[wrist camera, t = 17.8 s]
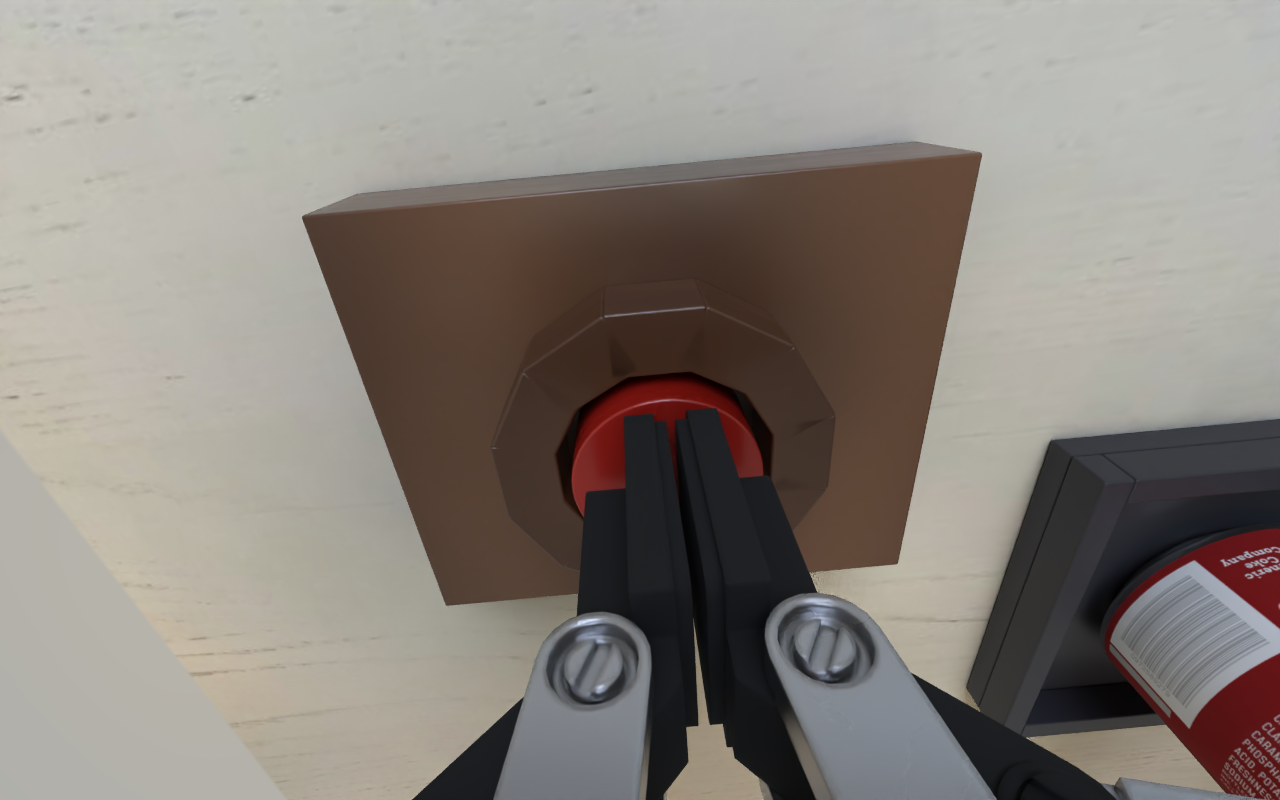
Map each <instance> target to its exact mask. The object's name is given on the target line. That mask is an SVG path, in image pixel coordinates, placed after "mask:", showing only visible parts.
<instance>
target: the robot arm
mask: <svg viewBox="0 0 1280 800" xmlns="http://www.w3.org/2000/svg"><path fill="white" fill-rule="evenodd" d="M675 432H676V449H677V466H678V483H679V500H680V508H679V502H678V495H677V489H676V482H675V476H674V469H673V463H672V457H671V450H670V444H669V437H668V431H667V424H666V420H664V421H654V416H653V414H643V415H632V416H624V451H625V486H626V488H621V489H610V490H599V491H588V492H587V493H586V497H585V508H584V522H583V536H582V550H581V564H580V578H579V592H578V607H577V617H574V618H571V619H569V620H567V621H566V622H564V623H563V624H561V625H560V626H559V627H557V628H556V629H554V630H553V632H552V633H551V634H550V635H549V636H548V637H547V638H546V640H545V641H544V642H543V644H542V646H541V648H540V650H539V652H538V654H537V656H536V659H535V662H534V665H533V669H532V672H531V675H530V679H529V682H528V685H527V689H526V692H525V695H524V697H523V698H522V699H521V700H520V701H519V702H518V703H516V704H515V705H514V706H513V707H512V708H511V709H510V710H509V711H508V712H507V713H506V714H505V715H503V716H502V717H501V718H500V719H499V720H498V721H497V722H496V723H495V724H494V725H493V726H492V727H490V728H489V729H488V730H487V731H486V732H485V733H484V734H483V735H482V736H481V737H480V738H479V739H477V740H476V741H475V742H474V743H473V744H472V745H471V746H470V747H469V748H468V749H467V750H465V751H464V752H463V753H462V754H461V755H460V756H459V757H458V758H457V759H456V760H455V761H454V762H452V763H451V764H450V765H449V766H448V767H447V768H446V769H445V770H444V771H443V772H442V773H441V774H439V775H438V776H437V777H436V778H435V779H434V780H433V781H432V782H431V783H430V784H429V785H428V786H426V787H425V788H424V789H423V790H422V791H421V792H420V793H419V794H418V795H417V796H416V797H415V798H413V799H412V800H667V796H666V791H667V790H668V788H669V787H670V786H671V784H672V783H673V782H674V780H675V779H676V778H677V776H678V775H679V774H680V772H681V771H682V770H683V769H684V767H685V766H686V765H687V763H688V748H687V733H686V727H692V726H698V705H697V684H696V664H695V644H694V625H695V632H696V638H697V645H698V652H699V658H700V665H701V672H702V679H703V685H704V692H705V699H706V705H707V712H708V718H709V723H710V725H715V724H723V728H724V733H725V739H726V745H727V747H733V751H734V757H735V759H737V760H738V761H739V762H740V763H742V764H743V765H744V766H745V767H746V768H748V769H749V770H750V771H751V772H753V773H754V774H755V775H756V776H757V777H758V778H759V783H760V788H761V792H762V795H763V798H764V800H1265V799H1258V798H1252V797H1245V796H1239V795H1232V794H1226V793H1219V792H1213V791H1206V790H1200V789H1193V788H1186V787H1180V786H1173V785H1167V784H1160V783H1154V782H1147V781H1141V780H1134V779H1128V778H1121V777H1120V778H1119V779H1118V781H1117V782H1116V784H1115V785H1109V784H1103V783H1099V782H1097V781H1096V780H1094V779H1093V778H1092V777H1090V776H1089V775H1087V774H1086V773H1084V772H1083V771H1081V770H1080V769H1079V768H1077V767H1076V766H1074V765H1072V764H1070V763H1069V762H1067V761H1065V760H1063V759H1062V758H1060V757H1058V756H1056V755H1055V754H1053V753H1051V752H1049V751H1048V750H1046V749H1044V748H1042V747H1041V746H1039V745H1037V744H1035V743H1034V742H1032V741H1030V740H1028V739H1026V738H1025V737H1023V736H1021V735H1019V734H1018V733H1016V732H1014V731H1012V730H1011V729H1009V728H1007V727H1005V726H1004V725H1002V724H1000V723H998V722H997V721H995V720H993V719H991V718H990V717H988V716H986V715H984V714H983V713H981V712H979V711H977V710H976V709H974V708H972V707H970V706H969V705H967V704H965V703H963V702H962V701H960V700H958V699H956V698H954V697H953V696H951V695H949V694H947V693H946V692H944V691H942V690H940V689H939V688H937V687H935V686H933V685H932V684H930V683H928V682H926V681H925V680H923V679H921V678H919V677H918V676H916V675H914V674H912V673H911V672H910V671H909V669H908V668H907V667H906V665H905V664H904V662H903V661H902V659H901V658H900V656H899V655H898V653H897V652H896V650H895V649H894V647H893V646H892V644H891V643H890V642H889V640H888V639H887V637H886V636H885V634H884V633H883V631H882V630H881V628H880V627H879V626H878V625H877V624H876V622H875V621H874V620H873V619H872V618H871V617H870V616H869V615H868V614H867V613H866V612H865V611H863V610H862V609H860V608H859V607H857V606H856V605H854V604H853V603H851V602H849V601H846V600H844V599H841V598H839V597H836V596H834V595H827V594H821V593H817V591H816V588H815V586H814V583H813V581H812V578H811V576H810V573H809V571H808V568H807V566H806V564H805V561H804V559H803V556H802V554H801V551H800V549H799V546H798V544H797V541H796V539H795V536H794V534H793V531H792V529H791V526H790V524H789V521H788V519H787V516H786V514H785V511H784V509H783V506H782V504H781V501H780V499H779V496H778V494H777V491H776V489H775V487H774V484H773V482H772V480H771V478H770V477H769V476H768V475H766V476H755V477H743V478H739V476H738V473H737V470H736V467H735V463H734V460H733V457H732V454H731V451H730V448H729V445H728V442H727V439H726V435H725V432H724V429H723V426H722V423H721V420H720V417H719V414H718V411H717V408H709V409H698V410H687V411H686V419H675ZM693 618H694V624H693Z"/></svg>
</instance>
